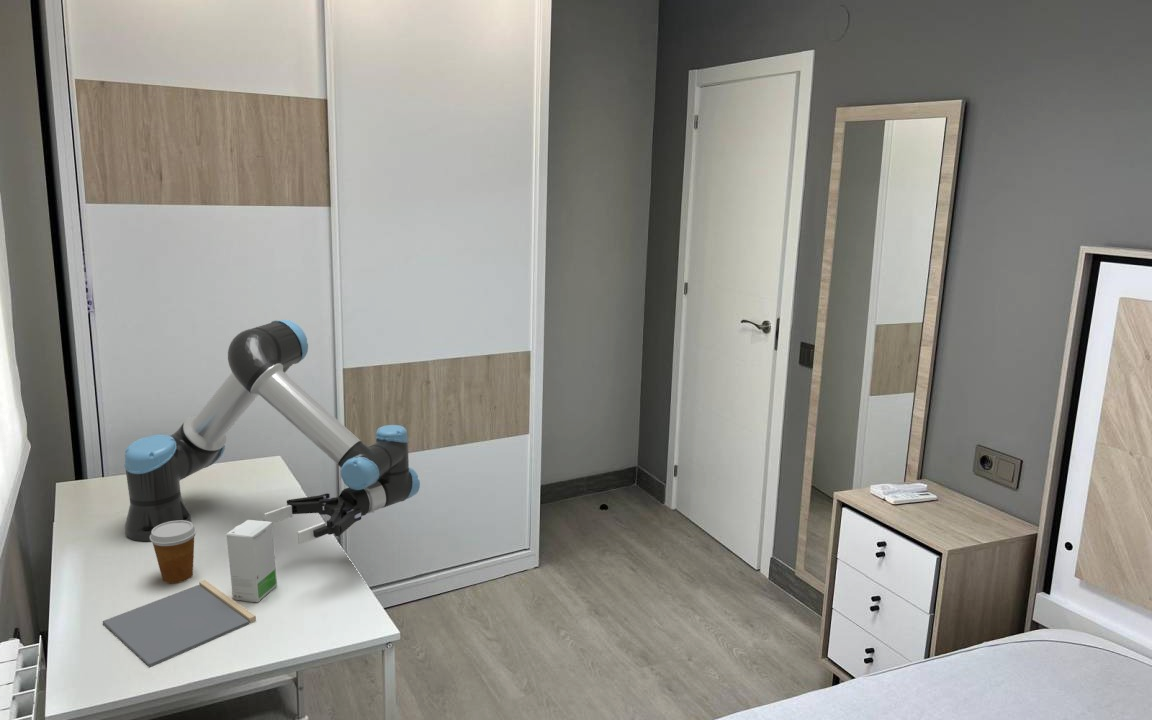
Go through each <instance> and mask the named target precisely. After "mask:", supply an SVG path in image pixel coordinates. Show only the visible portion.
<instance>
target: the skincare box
mask: <svg viewBox="0 0 1152 720" xmlns="http://www.w3.org/2000/svg"><path fill="white" fill-rule="evenodd" d="M273 530H274V529H273V523H272V522H268V521H265V520H255V519H254V520H253V519H246V520H245V521H244V522H242V523H240V524H238V525H236V526H234V528H233V529H231V530H229V532H227V533H225V534H226V541H227V550H228V564H229V573H230V574H229V575H230V584H231V585H230V586H231V594H232V595H231V596H232V599H233V600H234V601H243V602H250V603H251V602H252V603H258V602H260V601H261V600H262V599H263V598H264V597H266V595H268V594H269V593H270V592H271V591H273V590H274V589H275V588H276V587H277V586H278V580H277V570H276V569H277V568H276V558H275V557H276V556H275V555H276V554H275V544H274V542H275V541H274V532H273Z"/></svg>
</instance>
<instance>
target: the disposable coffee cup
mask: <svg viewBox="0 0 1152 720" xmlns="http://www.w3.org/2000/svg"><path fill="white" fill-rule="evenodd" d="M196 533H197V528H196V527H195V526H194V523H193V522H192V521H191V522H189V521H184V520H177V521H170V522H166V523H162V524H160V525H158V526H156V527H155V528H153V529H152V531H151V535H150V540H151V541H150V542H151V543H152V547H153V549H154V552H155V557H156V561H157V564H158V568H159V571H160V574H161V579H162V581H163V582H164V583H166V584H179V583H183V582H186V581H188V580H190V579H191V578H192V577H193V575H194V559H195V558H194V557H195V556H194V553H195V548H194V547H195V536H196Z"/></svg>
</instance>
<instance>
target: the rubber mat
mask: <svg viewBox="0 0 1152 720" xmlns="http://www.w3.org/2000/svg"><path fill="white" fill-rule="evenodd" d="M255 622H257V617H256V615H255V614H254V613H252V612H251V611H249V610H248V609H246V608H245V607H244V606H243V605H241V604H240V603H238V602H237V601H236V600H235V599H233V598H231V597H230V596H228V595H227V594H226V593H224V592H222V591H221V590H220V589H218V588H217V587H216V586H215V585H213V584H211V582H208V581H207V580H206V579H203V580H201V581H199V584H197V585H194V586H192V587H191V586H190V587H189V588H187V589H184V590H181V591H178V592H175V593H173V594H171V595H168V596H165V597H163V598H160V599H158V600H155V601H152V602H149V603H147V604H144V605H142V606H138V607H136V608H134V609H131V610H128V611H126V612H122V613H120V614H118V615H115V616H113V617H109V618H107V619H105V620H103V621H102V624H103V625H104V626H105V627H106V628H107V629H108V630H109V631H110V632H111V633H113V635H114V636H116V637H117V638H118V640H120V641H121V642H122V643H123V644H124V645H125V646H126V647H127V648H129V649H130V650H131V651H132V652H133V653H134V654H135V655H136V656H137V657H138V658H139V659H140V660H141V661H142V662H144V664H146V665H147V666H148V667H149V668H150V667H154V666H155V665H157V664H160V663H162V662H165V661H167V660H170V659H171V658H174V657H176V656H178V655H182V654H183V653H185V652H187V651H190V650H193V649H194V648H197V647H200V646H202V645H204V644H206V643H208V642H210V641H213V640H216V639H217V638H221V637H222V636H225V635H226V634H227V635H228V634H230V633H231V632H234V631H237V630H239V629H240V628H243V627H245V626H247V625H249V624H252V623H255Z"/></svg>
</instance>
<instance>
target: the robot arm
mask: <svg viewBox="0 0 1152 720" xmlns="http://www.w3.org/2000/svg"><path fill="white" fill-rule="evenodd" d="M227 350H228V351H227V362H228V366H229V368H230V371H231V373H230V374H229V376H228V377H227V378H225V380H224V382H223V383H222V384H221V385H220V386H219V388H218V389H217V391H215V393H214V394H213V395H212V397H210V399H209V401H207V403H206V404H205V405H204V407H202V409H201V410H200V412H199V413H198V414H197V415H191V416H189V417H187V418H186V419H185V420H184V422H183V423H182V424H181V425H180V427H178V428H177V430H176V431H175V432H174V433H172V434H171V435H168V434H153V435H149V436H145V437H142V438H139V439H136V440H135V441H133V442H132V443H130V444H129V445H128V446H127V447H126V448H125V450H124V468H125V475H126V480H127V481H126V484H127V489H128V496H129V508H128V511H127V517H126V520H125V524H124V529H125V536H126V538H128V539H131V540H133V541H137V542H139V541H140V542H151V540H150V535H151V531H152V529H153V528H155V527H156V526H158V525H160V524H162V523H166V522H170V521H177V520H184V521H189V522H191V523H192V516H191V512H190V511H189V509H188V507H187V505H186V503H185V502H184V499H183V498H182V492H181V484H180V481H181V480H184V479H186V478H187V477H189V476H191V475H193V474H195V473H197V472H199V471H201V470H203V469H207V468H208V467H210V466H212V465H214V464H215V463H216V462H218V460H219V459H220V458H221V457H222V456H223V454H224V452H225V449H226V442H227V436H226V434H227V433H229V431H230V430H231V429H232V427H233V426H234V425H235V423H237V421H238V420H239V419H240V418H241V416H242V415H243V414H244V413H245V412H246V410H247V409H248V408H249V407H250V406H251V405H252V404H253V402H254V401H255V399H257V397H258V396H260V397H261V398H262V399H264V401H266V402H267V403H268V404H269V405H270V406H271V407H272V408H273V409H275V410H276V411H277V412H278V413H279V414H280V415H281V416H282V417H283V418H285V420H287V421H288V422H289V423H290V424H291V425H293V426H294V428H296V429H297V430H298V431H299V432H300V433H302V434H303V435H304V436H305V437H306V438H307V439H308V440H309V441H310V442H311V443H313V444H314V445H315V446H316V447H318V448H319V449H320V451H322V452H323V453H324V454H325V455H326V456H327V457H329V458H330V459H331V460H332V461H333V462H334V463H335V464H337V465H338V467H340V468H341V469H340V477H341V480H342V481H343V483H344V484H345V486H346V487H345V488H344V489H343V490H341V491H340V494H339V496H336V497H331V496H330V495H331V493H323V494H320V495H312V496H306V497H299V498H292V499H287V500H286V505H285V506H282V507H280V508H276V509H273V510H270V511H268V512H265V513H263V517H264V518H263V521H268V522H272V524H275V523H277V522H280V521H282V520H286V519H289V518H292V517H293V515H301V514H302V515H303V514H304V515H306V514H319V515H321V516H323V515H325V516H326V515H327V516H330V518H329V520H326V522H325V521H323V522H320V523H318V524H314V525H312V526H310V527H306V528H304V529H302V530H298V531H297V543H298V544H299V545H302V544H304V543H307V542H310V541H312V540H314V539H317V538H318V539H319V538H320V537H323V536H326V535H329V536H330V535H333V534H334V536H335V537H339V536H341V535H342V534H343V533H344V532H346V531H347V530H348V529H349V528H350V527H352V525H354V524H355V523H356V522H358V521H361V520H362V517H363V516H366V515H367V514H371V513H373V514H374V513H375V512H377V511H379V510H380V509H383V508H386V507H390V506H392V505H395V504H397V503H400V502H404V501H406V500H408V499H410V498H412V497H414V496H415V495H417V494H418V492H419V490H420V486H421V482H420V479H419V476H418V473H417V472H416V471H415V470H414V469H413V468H412V467H409V466H410V465H409V463H410V462H409V439H408V438H409V437H408V430H407V429H406V427H404V426H402V425H398V424H388V425H383V426H380V427H379V428H377V430H376V432H375V442H374V443H373V444H371V445H370V446H367V445H366V444H365V443H364V442H363V441H362V440H360V439H359V437H357V436H356V435H355V434H354V433H353V432H352V431H350V429H348V428H347V427H346V426H345V425H344V424H343V423H342V422H340V421H339V420H338V419H337V418H336V417H335V416H333V415H332V413H331V412H329V411H328V410H327V409H326V408H325V407H324V406H323V405H321V403H319V401H317V400H316V399H315V398H313V396H311V395H310V393H308V392H307V391H306V390H305V389H303V388H302V387H301V386H300V385H299V384H298V383H297V382H296V381H294V380H293V378H291V377H290V376H289V375H288V374H286V372H287V371H288V370H289V368H291V367H292V366H294V365H296V364H299V363H300V362H302V360H304V359H305V357H306V356H307V354H308V351H309V343H308V338H307V335H306V333H305V331H304V330H303V328H302V327H300V325H299V324H297V323H296V322H294V321H292V320H290V319H280V320H279V319H276V320H272V321H271V322H269V323H266V324H263V325H262V324H261V325H258V326H256V327H253V328H250V329H249V328H248V329H246V330H243V331H241V332H240V333H238V334H236V336H234V338H233V339H232V340H231V341H230V343H229V346H228V349H227Z"/></svg>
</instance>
